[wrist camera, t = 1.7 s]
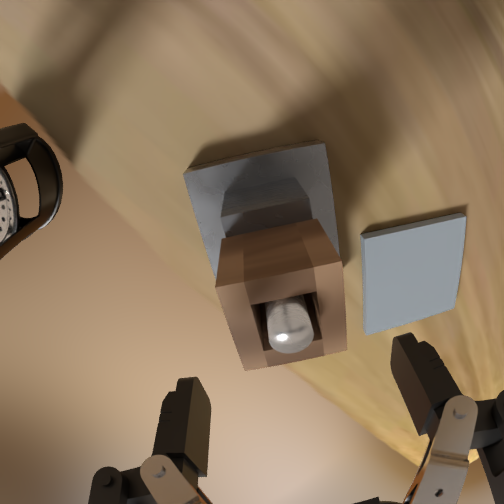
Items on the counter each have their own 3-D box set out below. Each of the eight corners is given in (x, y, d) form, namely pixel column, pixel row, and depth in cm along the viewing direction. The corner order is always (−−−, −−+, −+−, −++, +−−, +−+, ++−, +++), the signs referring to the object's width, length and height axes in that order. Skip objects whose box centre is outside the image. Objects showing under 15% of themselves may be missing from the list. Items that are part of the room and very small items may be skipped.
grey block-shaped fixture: (187, 168, 23) (133, 241, 11) (318, 139, 22) (397, 185, 10) (227, 297, 28) (220, 421, 17) (336, 274, 27) (387, 388, 16)
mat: (360, 234, 26) (364, 239, 25) (460, 212, 25) (466, 216, 24) (363, 329, 31) (366, 335, 30) (449, 303, 30) (454, 308, 29)
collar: (221, 238, 18) (215, 287, 13) (317, 218, 17) (341, 260, 13) (243, 313, 20) (244, 370, 16) (326, 296, 20) (347, 350, 15)
